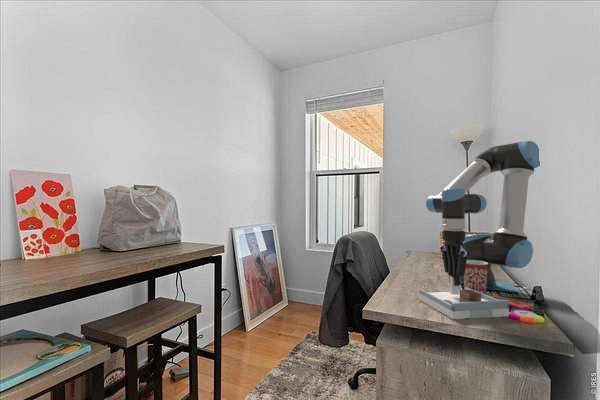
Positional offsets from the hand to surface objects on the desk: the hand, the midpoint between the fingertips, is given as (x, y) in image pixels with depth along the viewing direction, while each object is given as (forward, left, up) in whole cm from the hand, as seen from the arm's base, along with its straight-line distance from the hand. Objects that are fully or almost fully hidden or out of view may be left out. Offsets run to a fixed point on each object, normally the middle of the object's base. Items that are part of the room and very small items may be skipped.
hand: (454, 293), depth 108 cm
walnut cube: (+1, +9, -1) cm, 9 cm away
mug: (-16, -9, -4) cm, 19 cm away
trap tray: (0, +4, -4) cm, 5 cm away
